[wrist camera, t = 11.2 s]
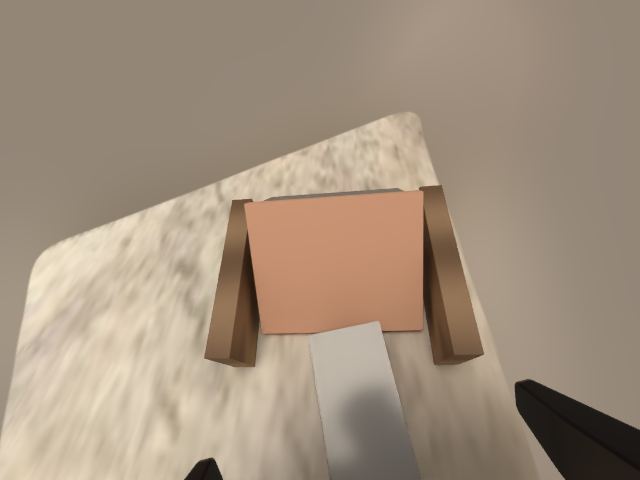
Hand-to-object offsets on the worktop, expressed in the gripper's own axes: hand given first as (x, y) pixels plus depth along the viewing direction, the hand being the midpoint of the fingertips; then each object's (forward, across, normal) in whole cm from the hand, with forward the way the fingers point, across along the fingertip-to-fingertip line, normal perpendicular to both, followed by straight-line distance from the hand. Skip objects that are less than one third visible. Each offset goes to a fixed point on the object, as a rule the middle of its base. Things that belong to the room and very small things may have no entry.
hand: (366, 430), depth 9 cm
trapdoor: (+17, -1, 0) cm, 17 cm away
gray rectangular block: (+11, 0, +4) cm, 11 cm away
